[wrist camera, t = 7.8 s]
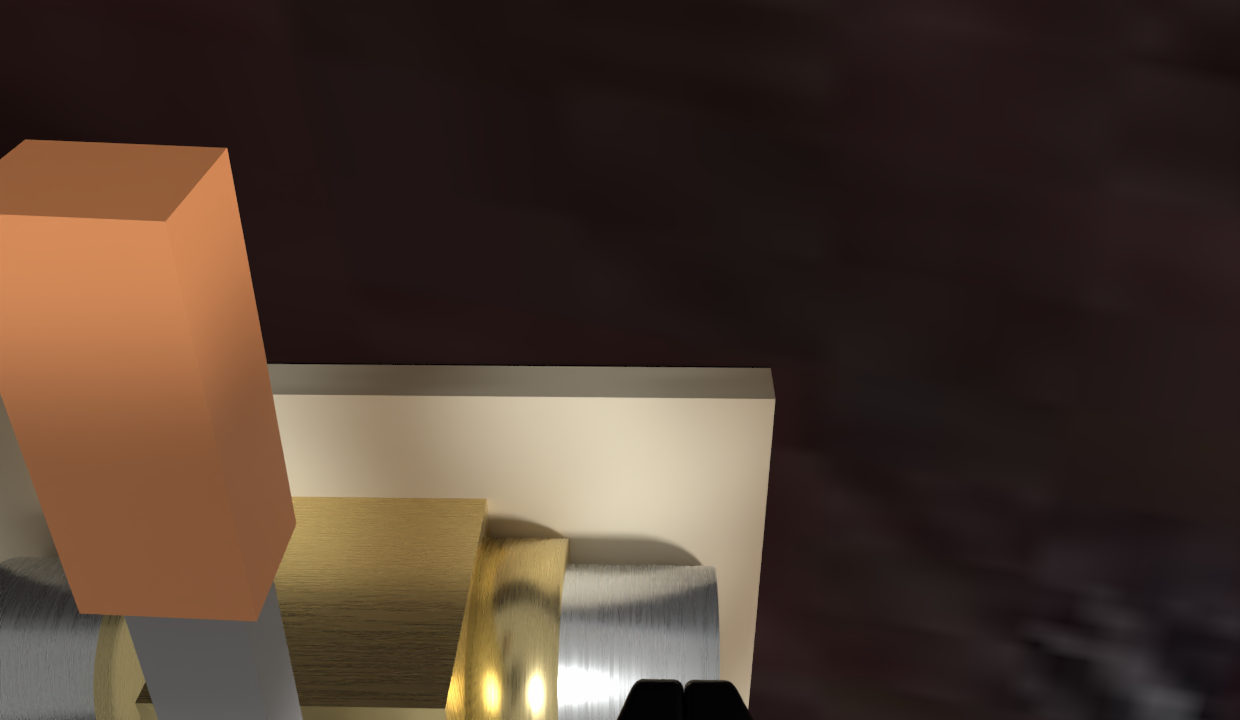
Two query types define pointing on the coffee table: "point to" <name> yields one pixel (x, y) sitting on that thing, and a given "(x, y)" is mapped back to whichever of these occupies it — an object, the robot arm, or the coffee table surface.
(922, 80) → the coffee table surface
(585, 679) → the valve
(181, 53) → the coffee table surface
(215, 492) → the valve lever
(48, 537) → the valve board
